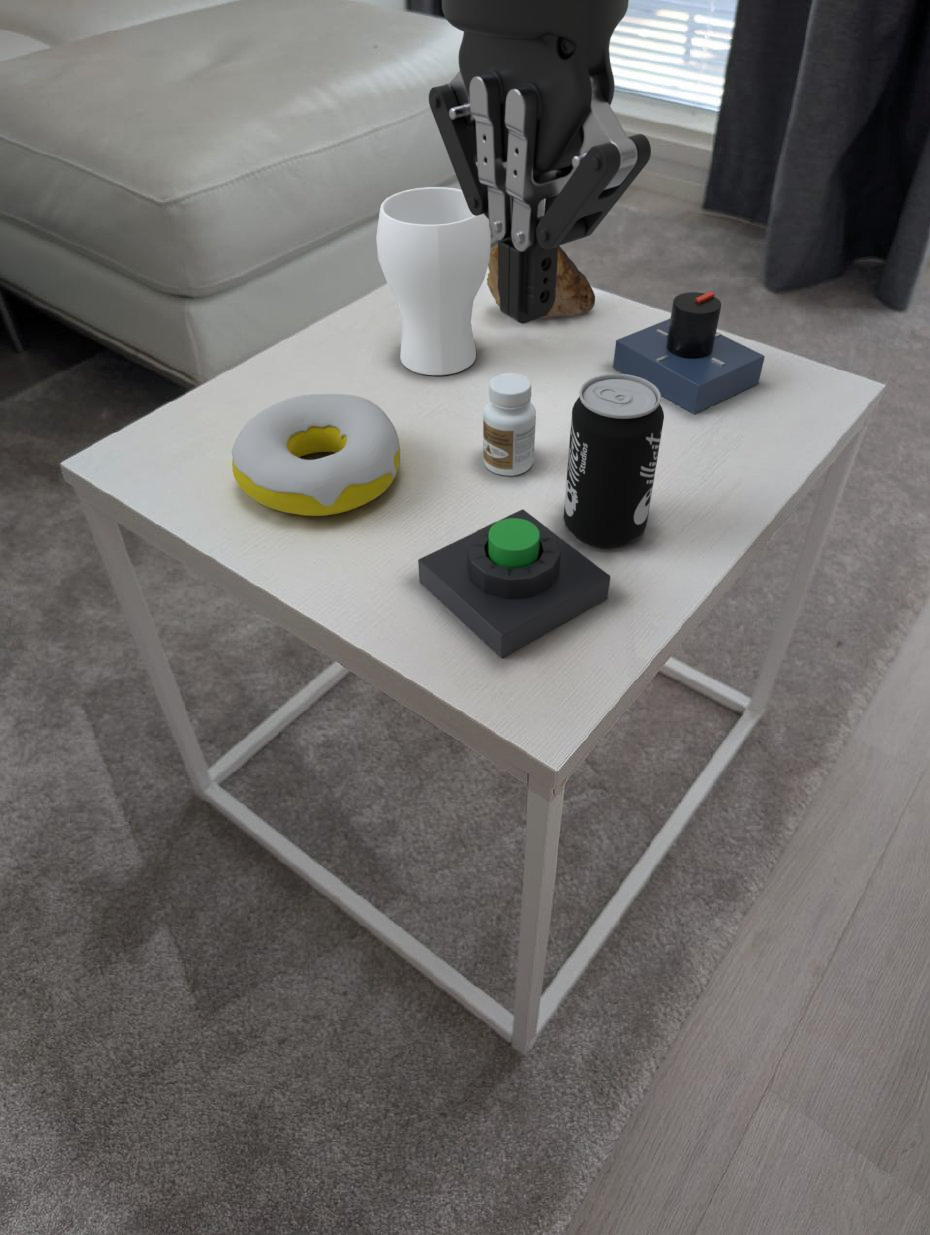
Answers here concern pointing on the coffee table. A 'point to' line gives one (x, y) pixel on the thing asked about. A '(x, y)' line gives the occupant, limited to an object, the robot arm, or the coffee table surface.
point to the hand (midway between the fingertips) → (525, 314)
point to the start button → (514, 543)
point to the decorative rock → (570, 286)
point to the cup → (434, 274)
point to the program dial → (693, 324)
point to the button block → (513, 587)
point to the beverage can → (612, 459)
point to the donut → (311, 427)
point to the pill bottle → (509, 425)
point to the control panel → (688, 367)
